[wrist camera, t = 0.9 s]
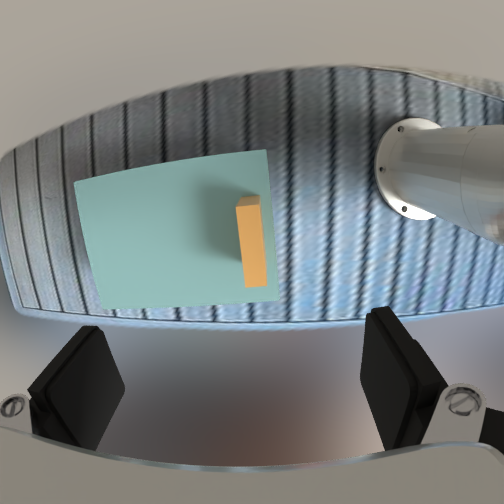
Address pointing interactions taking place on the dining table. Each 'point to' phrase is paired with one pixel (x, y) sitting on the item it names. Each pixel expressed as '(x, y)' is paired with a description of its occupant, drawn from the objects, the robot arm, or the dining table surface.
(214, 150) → the dining table surface
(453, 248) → the dining table surface
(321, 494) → the robot arm
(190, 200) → the lid
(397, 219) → the dining table surface
